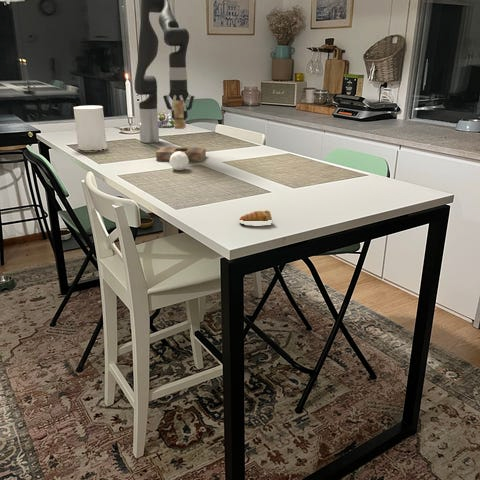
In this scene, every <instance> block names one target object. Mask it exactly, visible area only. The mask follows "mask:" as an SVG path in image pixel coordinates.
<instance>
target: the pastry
mask: <svg viewBox="0 0 480 480" xmlns="http://www.w3.org/2000/svg"><path fill="white" fill-rule="evenodd" d="M239 220H243V221H268V220H272V221H273V218H272V213H271V212H270V210H267V209H266V210H257V211H253V212H251V213H246V214H244V215H242V216H241V217H240V218H239Z"/></svg>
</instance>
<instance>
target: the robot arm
mask: <svg viewBox="0 0 480 480" xmlns="http://www.w3.org/2000/svg"><path fill="white" fill-rule="evenodd" d="M150 13H156V14H159V16H158V24H159V26H160V28H161V29H162V33H163V42H164V43H165V44H166V45H167V46H169V47H178V50H177V51H172V52H170V53H169V55H168V64H169V70H168V72H169V73H168V76H169V93H168V94H165V95H163V97H162V98H163V100H164V103H165V106H166V108H167V110H170V111H171V117H172V118H173V119H174V101H173V100H181V101H183V109H184V120H185V121H186V120H187V119H188V116H189V115H188V114H189V113H188V112H189V111H190V110H191V109H192V108H193V104H194V103H195V102H194V101H195V98H196V96H195V95H191V94H190V93H189V92H188V72H187V51H188V46H189V42H190V41H189V40H190V33H189V30H188V29H187V28H185V27H180V25H179V23H178V21H177V19H176V18H175V16H174V15H173V13H172V8H171V6H170V3H169V0H140V24H139V25H140V26H139V37H138V47H137V64H136V69H135V76H134V84H133V85H134V92H135V94H136V95H138V96H139V95H140V96H145V95H148V97H147V98H145V100H143V101H140V102H139V103H138V107H139V109H138V110H139V121H140V123H139V124H138V125H139V126H138V127H139V129H138V130H139V140H140V143H145V144H148V143H149V144H151V143H152V144H154V143H159V142H160V133H159V126H158V113H159V112H158V81H157V79H156V77H155V76H154V75H146V71H147V70H148V68H149V67H150V66H151V64H152V63H153V62H154V61H155V59H156V57H157V55H158V51H159V37H158V35H157V33H156V31H155V30H154V27H153V25H152V22H151V21H150ZM170 99H171V101H172V104H171V103H170ZM187 100H189V103H188V104H187ZM172 118H171V119H172ZM173 119H172V120H173Z"/></svg>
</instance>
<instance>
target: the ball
mask: <svg viewBox="0 0 480 480" xmlns="http://www.w3.org/2000/svg"><path fill="white" fill-rule="evenodd" d="M169 163H170V167H171V168H172V169H173V170H175V171H178V170H180V171H183V170H186V168H187V167H188V165H189V163H190V162H189V160H188V157H187V155H186V154H185V153H184V152H180V151H178V152H175V153H173V154H172V155H171V157H170V161H169Z"/></svg>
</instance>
